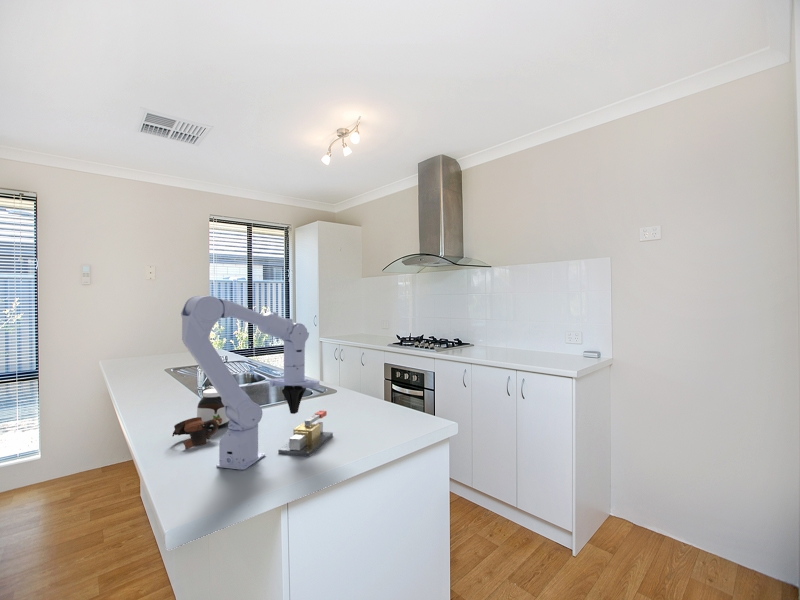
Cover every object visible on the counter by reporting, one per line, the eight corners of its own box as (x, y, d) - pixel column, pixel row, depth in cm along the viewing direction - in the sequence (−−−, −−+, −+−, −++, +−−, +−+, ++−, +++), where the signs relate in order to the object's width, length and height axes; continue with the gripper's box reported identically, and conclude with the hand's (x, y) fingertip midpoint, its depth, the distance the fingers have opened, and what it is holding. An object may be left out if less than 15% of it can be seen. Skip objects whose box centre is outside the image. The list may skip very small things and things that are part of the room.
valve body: (309, 456, 103) (309, 437, 103) (278, 453, 105) (278, 434, 105) (332, 435, 119) (332, 419, 119) (305, 433, 121) (305, 417, 121)
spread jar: (194, 431, 123) (194, 394, 123) (202, 420, 134) (202, 386, 134) (235, 427, 126) (235, 391, 126) (239, 417, 137) (239, 384, 137)
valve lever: (309, 427, 111) (309, 421, 111) (302, 426, 112) (302, 420, 112) (326, 416, 121) (326, 411, 121) (320, 415, 122) (320, 410, 122)
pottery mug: (173, 454, 106) (167, 424, 109) (180, 457, 114) (174, 430, 117) (220, 436, 111) (213, 409, 114) (224, 440, 119) (217, 414, 122)
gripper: (323, 363, 113) (323, 410, 113) (278, 361, 116) (278, 407, 116) (313, 367, 106) (313, 417, 106) (265, 365, 109) (265, 414, 109)
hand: (294, 412), depth 111 cm, fingers closed
